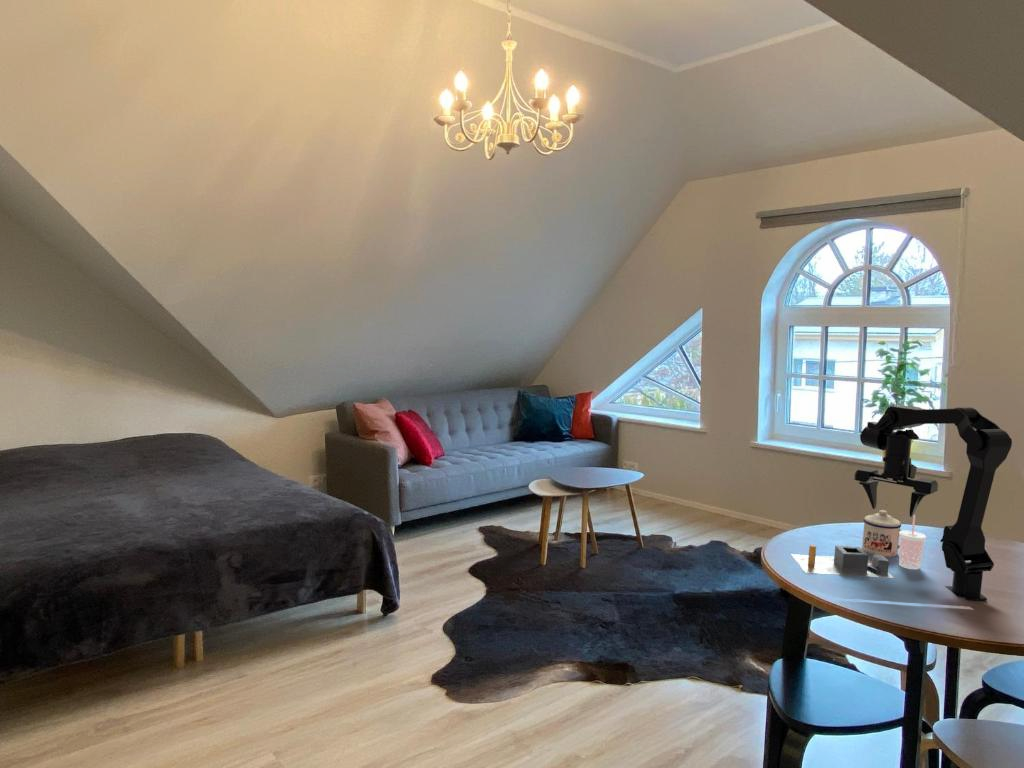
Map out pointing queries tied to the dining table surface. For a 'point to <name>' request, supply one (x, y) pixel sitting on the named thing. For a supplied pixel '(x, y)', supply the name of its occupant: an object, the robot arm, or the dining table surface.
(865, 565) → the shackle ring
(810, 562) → the post
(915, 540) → the beverage cup
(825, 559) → the tie plate
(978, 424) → the robot arm
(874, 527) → the teacup with lid
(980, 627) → the dining table surface
